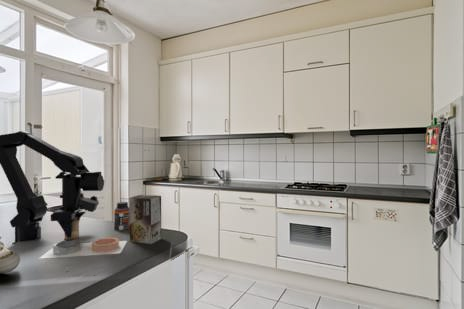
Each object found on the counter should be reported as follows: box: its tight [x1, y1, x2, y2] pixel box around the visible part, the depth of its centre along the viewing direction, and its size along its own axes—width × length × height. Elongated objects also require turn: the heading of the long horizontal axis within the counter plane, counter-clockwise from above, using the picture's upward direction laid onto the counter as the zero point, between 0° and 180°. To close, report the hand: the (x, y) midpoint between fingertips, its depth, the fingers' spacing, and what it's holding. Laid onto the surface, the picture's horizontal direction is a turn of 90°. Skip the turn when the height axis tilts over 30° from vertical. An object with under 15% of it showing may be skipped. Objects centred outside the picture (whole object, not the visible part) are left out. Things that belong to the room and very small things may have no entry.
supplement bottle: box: [113, 201, 130, 232], centre depth 110 cm, size 6×6×11 cm
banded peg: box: [63, 220, 80, 241], centre depth 97 cm, size 5×5×7 cm
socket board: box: [38, 240, 128, 260], centre depth 86 cm, size 22×12×1 cm, turn 101°
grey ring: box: [52, 239, 83, 255], centre depth 85 cm, size 8×8×2 cm
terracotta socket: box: [91, 237, 120, 252], centre depth 87 cm, size 8×8×2 cm
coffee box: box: [128, 194, 162, 245], centre depth 95 cm, size 9×6×16 cm
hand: (71, 235), depth 97 cm, fingers closed on banded peg, 4 cm apart
